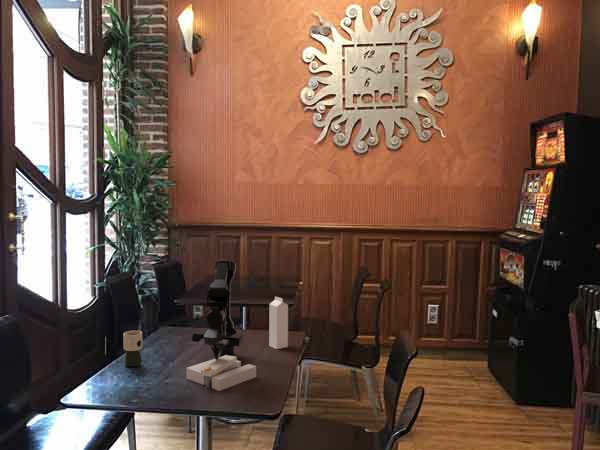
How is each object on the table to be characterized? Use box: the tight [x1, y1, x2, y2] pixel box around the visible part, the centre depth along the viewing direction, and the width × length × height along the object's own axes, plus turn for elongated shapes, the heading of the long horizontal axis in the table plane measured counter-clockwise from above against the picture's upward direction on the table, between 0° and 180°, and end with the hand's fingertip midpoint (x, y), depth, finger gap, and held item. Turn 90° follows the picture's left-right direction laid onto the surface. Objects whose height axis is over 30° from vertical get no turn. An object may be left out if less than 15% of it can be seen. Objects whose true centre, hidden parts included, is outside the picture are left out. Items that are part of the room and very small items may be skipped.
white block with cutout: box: [186, 356, 257, 392], centre depth 194 cm, size 18×19×4 cm
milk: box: [268, 296, 289, 350], centre depth 232 cm, size 6×6×22 cm
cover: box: [201, 355, 238, 377], centre depth 192 cm, size 5×18×2 cm, turn 158°
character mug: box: [122, 330, 143, 367], centre depth 206 cm, size 11×7×13 cm, turn 3°
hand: (217, 360), depth 197 cm, fingers closed
